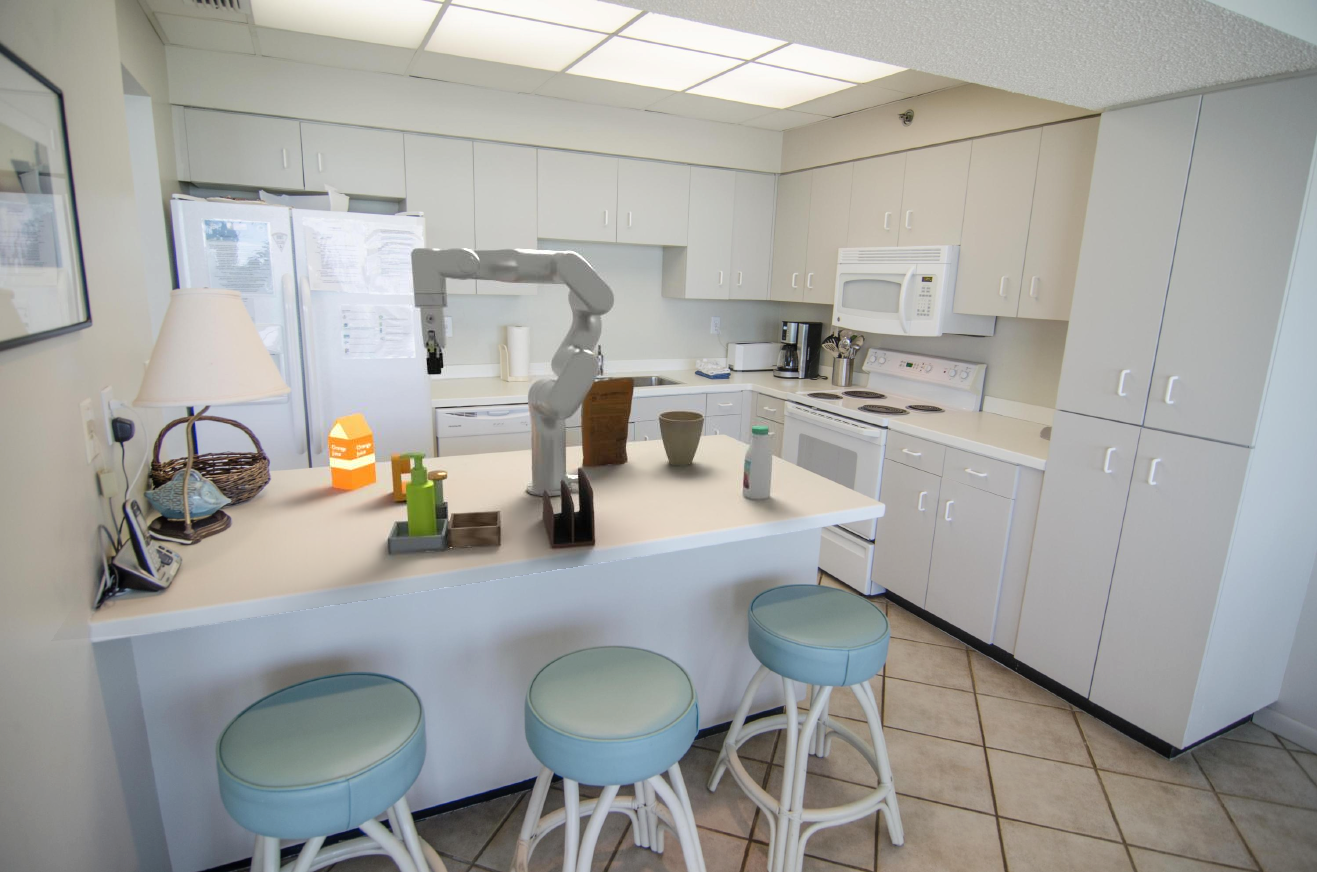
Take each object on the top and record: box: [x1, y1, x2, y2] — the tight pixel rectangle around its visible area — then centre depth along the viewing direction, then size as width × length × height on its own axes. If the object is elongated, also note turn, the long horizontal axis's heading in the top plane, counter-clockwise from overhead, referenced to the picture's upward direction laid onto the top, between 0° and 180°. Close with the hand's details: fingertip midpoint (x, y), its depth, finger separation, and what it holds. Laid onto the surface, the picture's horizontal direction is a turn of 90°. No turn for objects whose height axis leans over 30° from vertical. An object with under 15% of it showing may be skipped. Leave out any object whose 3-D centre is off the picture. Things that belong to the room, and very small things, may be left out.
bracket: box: [390, 453, 412, 502], centre depth 181 cm, size 11×7×12 cm, turn 22°
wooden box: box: [447, 510, 502, 549], centre depth 155 cm, size 11×10×4 cm
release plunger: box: [427, 470, 448, 507], centre depth 159 cm, size 4×4×13 cm
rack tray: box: [387, 518, 449, 555], centre depth 152 cm, size 12×11×4 cm
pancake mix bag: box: [580, 377, 635, 468], centre depth 215 cm, size 7×19×28 cm, turn 120°
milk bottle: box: [742, 425, 773, 501], centre depth 188 cm, size 8×8×20 cm
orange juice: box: [327, 412, 377, 491], centre depth 189 cm, size 8×9×20 cm
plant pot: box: [658, 410, 705, 467], centre depth 220 cm, size 15×15×16 cm
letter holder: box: [542, 467, 596, 550], centre depth 160 cm, size 10×20×14 cm, turn 15°
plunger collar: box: [435, 501, 450, 527], centre depth 160 cm, size 5×5×6 cm
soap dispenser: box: [398, 452, 437, 537], centre depth 150 cm, size 6×7×20 cm
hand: (435, 371), depth 167 cm, fingers open, 9 cm apart
